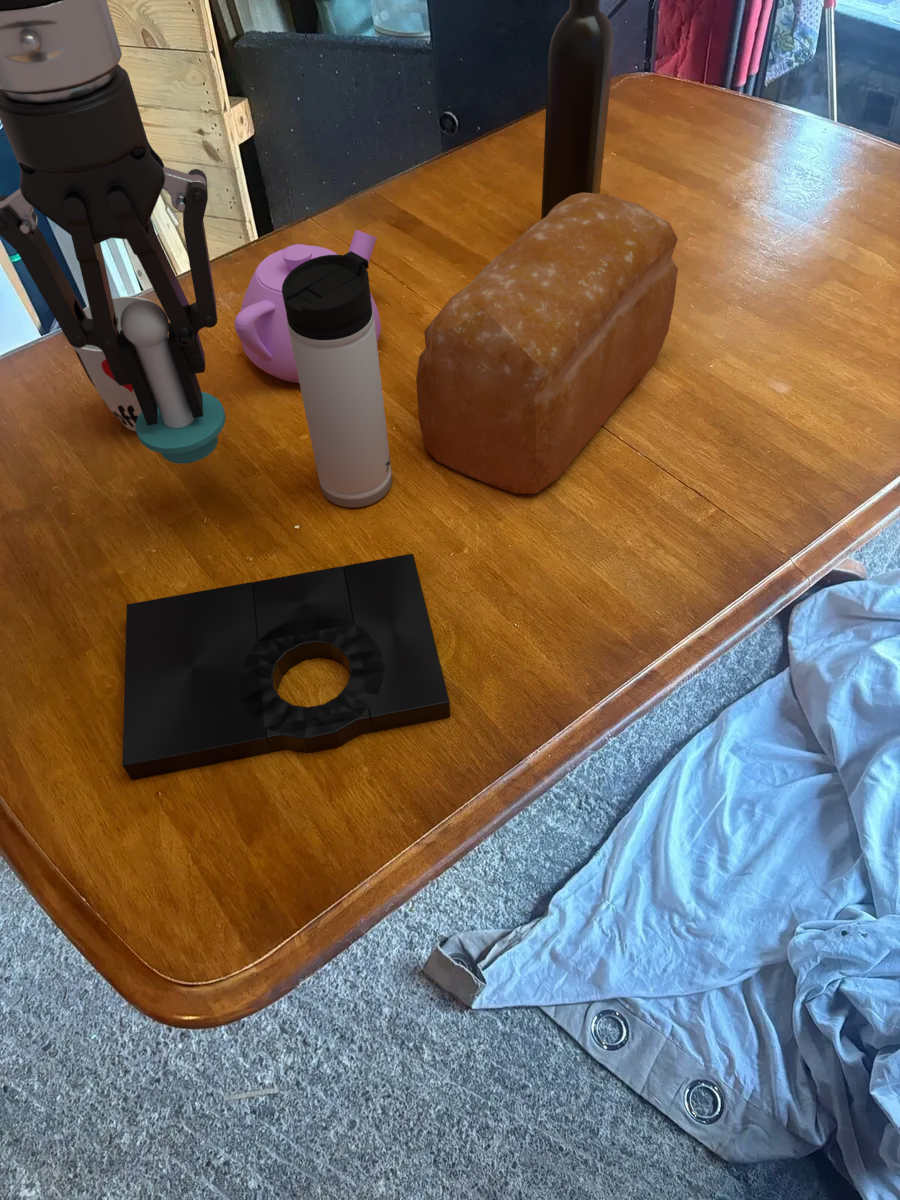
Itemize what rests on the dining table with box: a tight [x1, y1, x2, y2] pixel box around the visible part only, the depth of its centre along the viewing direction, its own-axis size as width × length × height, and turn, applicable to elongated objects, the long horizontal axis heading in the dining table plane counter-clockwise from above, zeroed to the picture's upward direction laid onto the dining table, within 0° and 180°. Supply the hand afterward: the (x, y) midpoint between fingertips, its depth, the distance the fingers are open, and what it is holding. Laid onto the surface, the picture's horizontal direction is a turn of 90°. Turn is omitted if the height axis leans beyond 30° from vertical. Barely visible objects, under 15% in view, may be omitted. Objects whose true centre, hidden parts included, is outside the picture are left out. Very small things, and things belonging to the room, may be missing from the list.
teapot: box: [234, 229, 382, 384], centre depth 86 cm, size 14×20×11 cm
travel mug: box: [282, 251, 393, 509], centre depth 70 cm, size 6×7×20 cm
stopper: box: [121, 299, 227, 465], centre depth 66 cm, size 7×7×13 cm
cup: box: [72, 296, 169, 433], centre depth 80 cm, size 8×8×10 cm
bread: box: [415, 193, 679, 495], centre depth 78 cm, size 14×26×16 cm, turn 147°
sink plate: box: [121, 553, 451, 781], centre depth 64 cm, size 22×15×2 cm, turn 102°
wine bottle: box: [540, 0, 615, 220], centre depth 90 cm, size 6×6×30 cm
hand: (174, 409), depth 68 cm, fingers closed on stopper, 3 cm apart
